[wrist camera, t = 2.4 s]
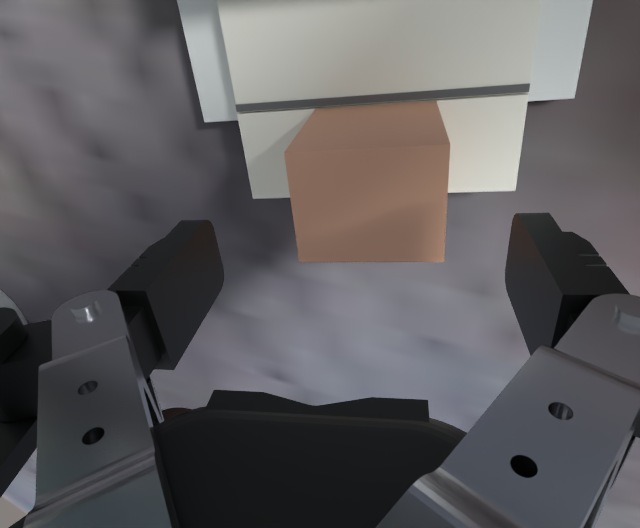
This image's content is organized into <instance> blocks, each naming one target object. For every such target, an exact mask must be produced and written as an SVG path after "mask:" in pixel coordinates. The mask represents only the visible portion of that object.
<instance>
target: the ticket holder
mask: <svg viewBox="0 0 640 528" xmlns="http://www.w3.org/2000/svg"><path fill="white" fill-rule="evenodd" d="M177 3H178V7H179V12H180V16H181V20H182V25H183V29H184V34H185V38H186V43H187V47H188V51H189V56H190V60H191V65H192V69H193V74H194V78H195V82H196V87H197V91H198V96H199V100H200V105H201V109H202V113H203V118H204V122H218V121H233V120H238V117H237V114H238V113H239V112H254V111H269V110H283V109H298V108H313V107H327V106H342V105H357V104H371V103H386V102H401V101H415V100H430V99H445V98H459V97H474V96H489V95H503V94H518V93H527V94H528V95H529V96H528V101H542V100H557V99H572V98H575V93H576V87H577V82H578V77H579V72H580V66H581V61H582V56H583V50H584V45H585V40H586V35H587V29H588V24H589V19H590V14H591V8H592V3H593V0H177Z"/></svg>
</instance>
